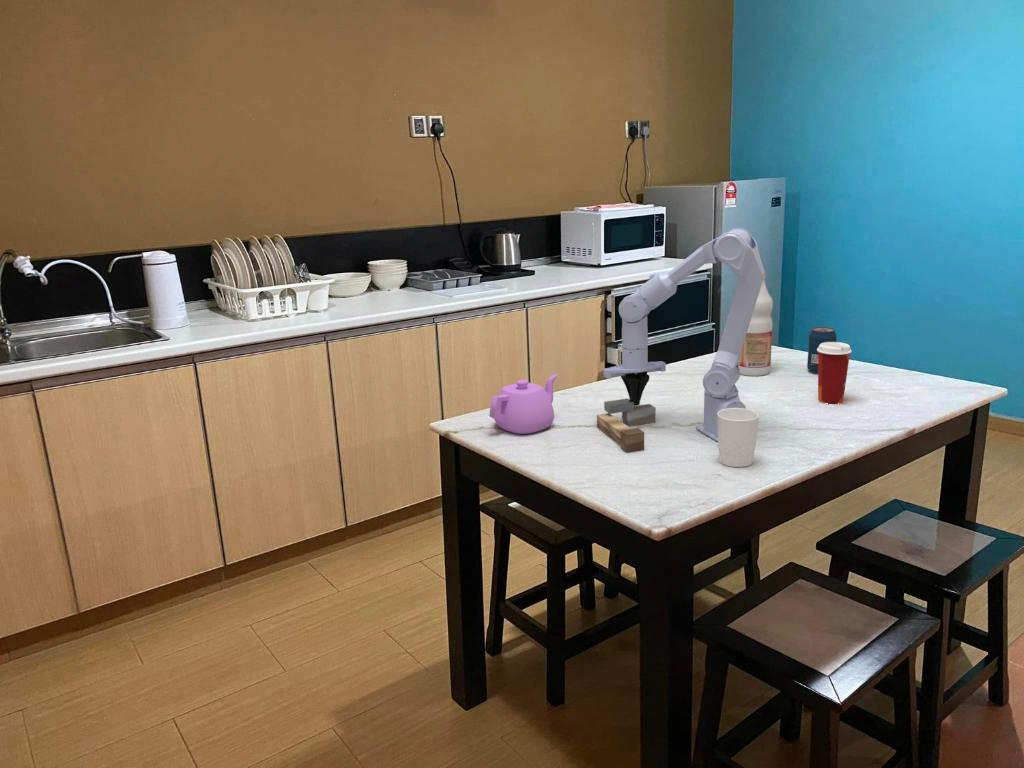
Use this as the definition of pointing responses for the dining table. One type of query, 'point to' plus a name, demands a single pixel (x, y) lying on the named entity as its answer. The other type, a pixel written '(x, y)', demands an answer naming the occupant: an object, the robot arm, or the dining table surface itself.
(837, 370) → the paper cup
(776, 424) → the dining table surface
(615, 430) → the arm
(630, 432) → the brown grey blocky piece
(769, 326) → the fruit juice
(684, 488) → the dining table surface
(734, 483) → the dining table surface
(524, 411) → the teapot
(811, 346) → the soda can
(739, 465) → the white cup
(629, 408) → the bar
